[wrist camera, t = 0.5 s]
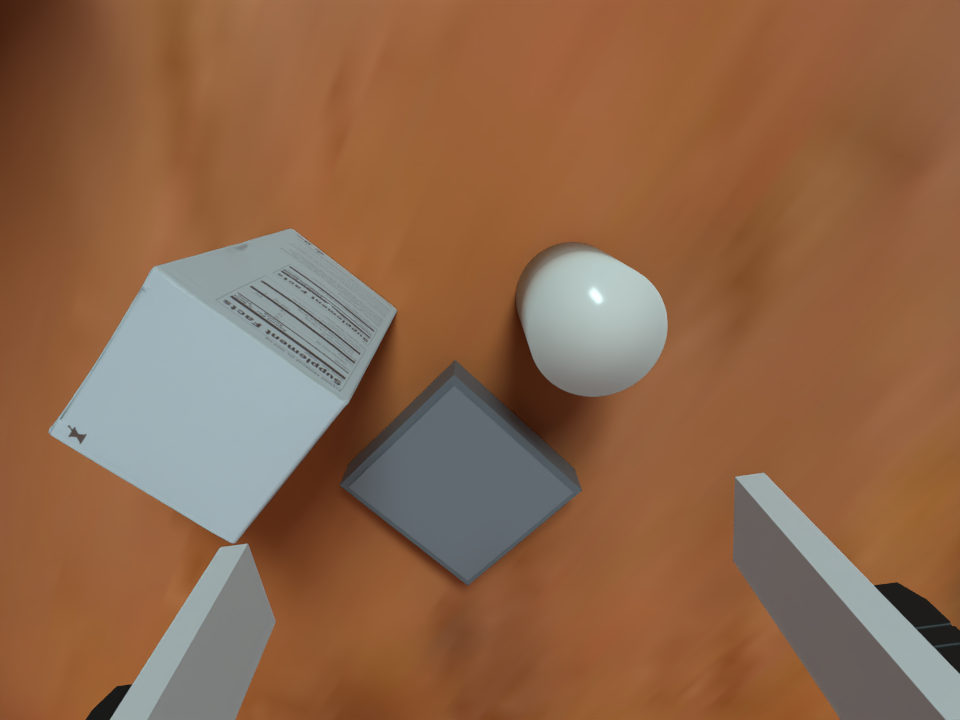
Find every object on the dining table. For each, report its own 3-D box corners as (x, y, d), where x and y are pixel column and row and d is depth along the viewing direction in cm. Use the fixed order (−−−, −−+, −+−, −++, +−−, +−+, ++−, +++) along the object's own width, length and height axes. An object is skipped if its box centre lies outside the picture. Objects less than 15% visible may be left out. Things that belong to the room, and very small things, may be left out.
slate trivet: (348, 464, 42) (338, 487, 39) (455, 360, 39) (453, 376, 36) (468, 559, 45) (467, 588, 42) (574, 469, 42) (582, 492, 39)
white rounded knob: (493, 297, 38) (499, 333, 29) (573, 218, 36) (604, 232, 28) (565, 368, 40) (591, 422, 31) (645, 296, 38) (695, 331, 29)
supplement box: (325, 404, 40) (230, 555, 24) (217, 329, 38) (36, 441, 22) (402, 307, 38) (352, 404, 22) (291, 222, 36) (148, 261, 20)
